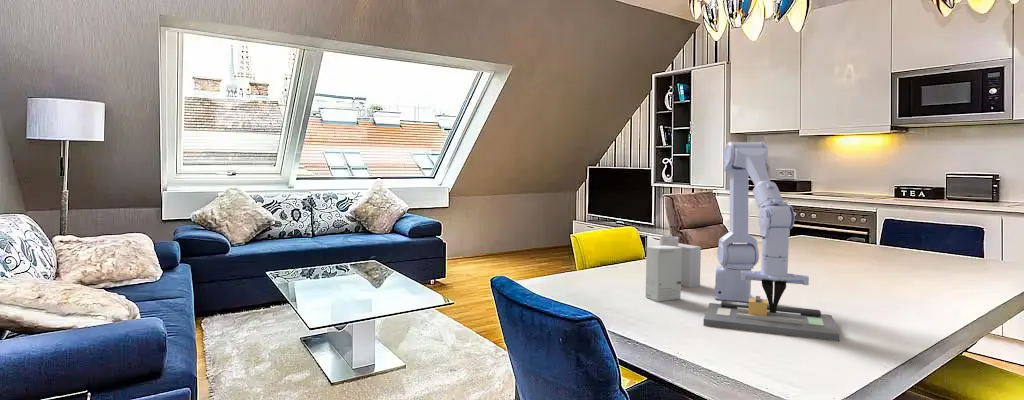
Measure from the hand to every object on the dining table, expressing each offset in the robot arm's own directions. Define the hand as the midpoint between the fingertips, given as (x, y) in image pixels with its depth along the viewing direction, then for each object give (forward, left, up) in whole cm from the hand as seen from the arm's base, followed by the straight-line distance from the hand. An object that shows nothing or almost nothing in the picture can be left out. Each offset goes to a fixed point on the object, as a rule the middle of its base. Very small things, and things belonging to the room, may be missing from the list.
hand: (772, 311), depth 133 cm
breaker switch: (-3, 0, -1) cm, 3 cm away
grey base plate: (-1, 0, -3) cm, 3 cm away
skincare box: (-28, +14, -3) cm, 31 cm away
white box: (-29, +32, -3) cm, 43 cm away
